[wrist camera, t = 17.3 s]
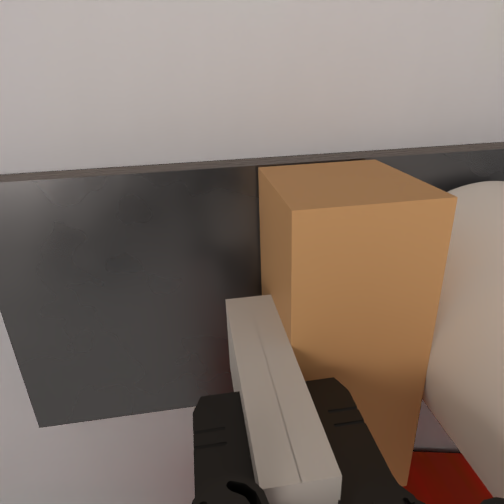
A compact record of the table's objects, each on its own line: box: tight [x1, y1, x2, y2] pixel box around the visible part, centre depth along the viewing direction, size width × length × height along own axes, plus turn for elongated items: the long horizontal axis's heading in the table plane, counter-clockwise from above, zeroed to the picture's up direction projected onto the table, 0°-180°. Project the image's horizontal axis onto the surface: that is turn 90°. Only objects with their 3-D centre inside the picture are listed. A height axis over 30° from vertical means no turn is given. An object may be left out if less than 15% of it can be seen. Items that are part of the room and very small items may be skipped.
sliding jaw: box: [258, 159, 458, 486], centre depth 13 cm, size 4×10×5 cm, turn 2°
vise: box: [0, 142, 504, 428], centre depth 14 cm, size 26×10×6 cm, turn 92°
